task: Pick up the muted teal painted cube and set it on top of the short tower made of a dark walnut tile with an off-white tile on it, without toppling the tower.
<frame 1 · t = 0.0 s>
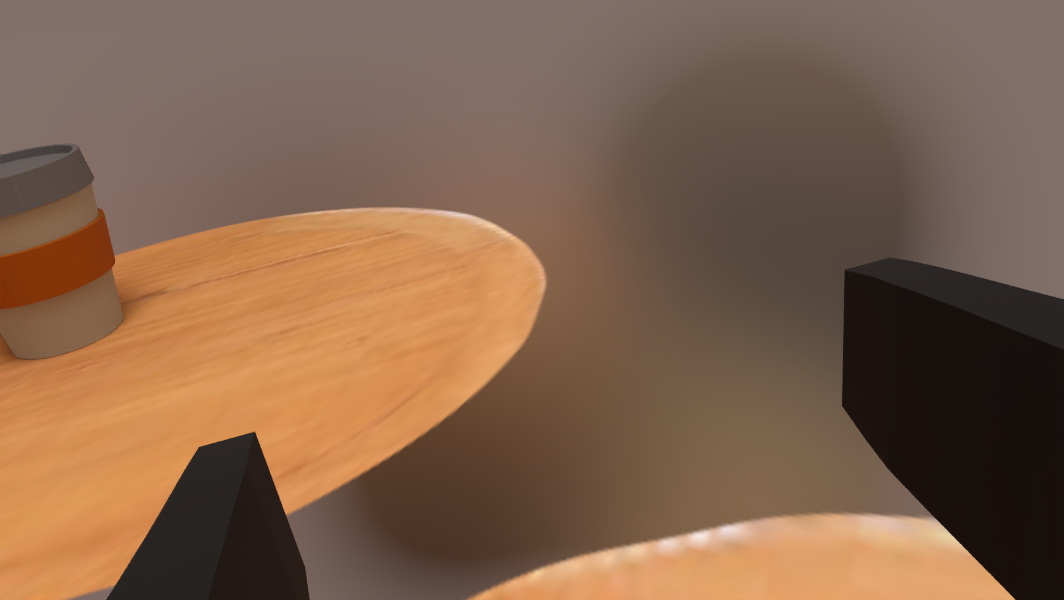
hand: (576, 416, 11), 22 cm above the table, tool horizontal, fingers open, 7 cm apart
reusable coffee cup: (70, 336, 78), on the table
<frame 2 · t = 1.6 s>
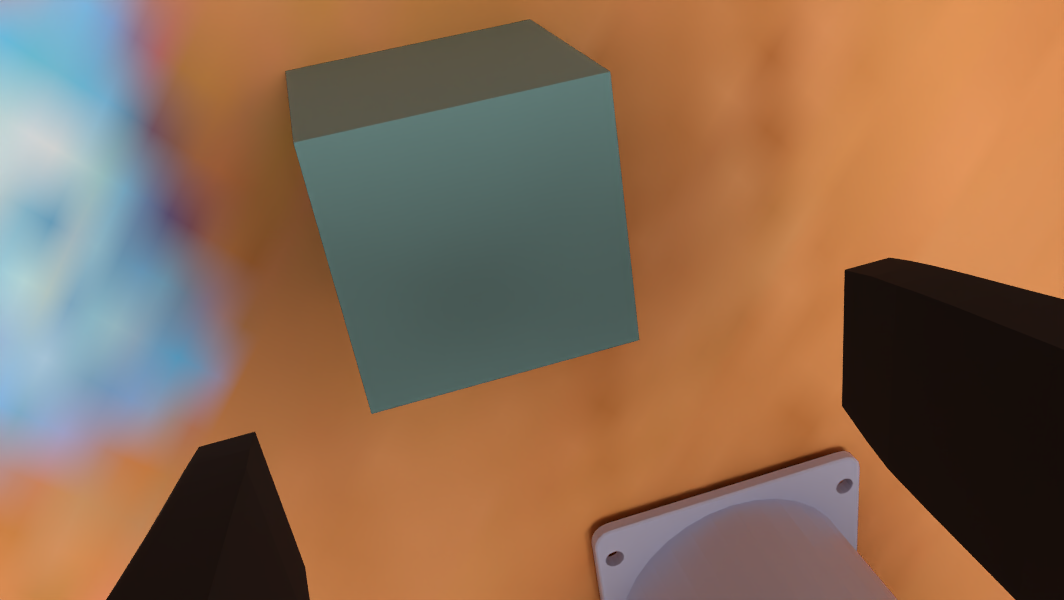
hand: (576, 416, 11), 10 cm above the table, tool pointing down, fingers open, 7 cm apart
cube: (434, 161, 19), on the table
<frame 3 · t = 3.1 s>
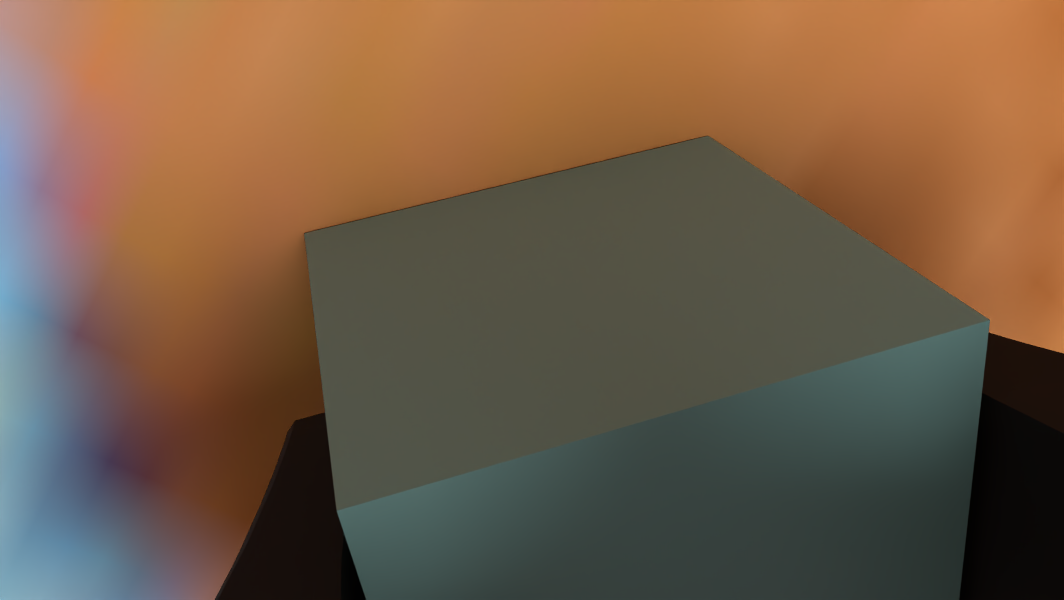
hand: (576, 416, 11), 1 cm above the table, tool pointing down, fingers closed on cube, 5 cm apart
cube: (543, 358, 12), on the table, touching gripper
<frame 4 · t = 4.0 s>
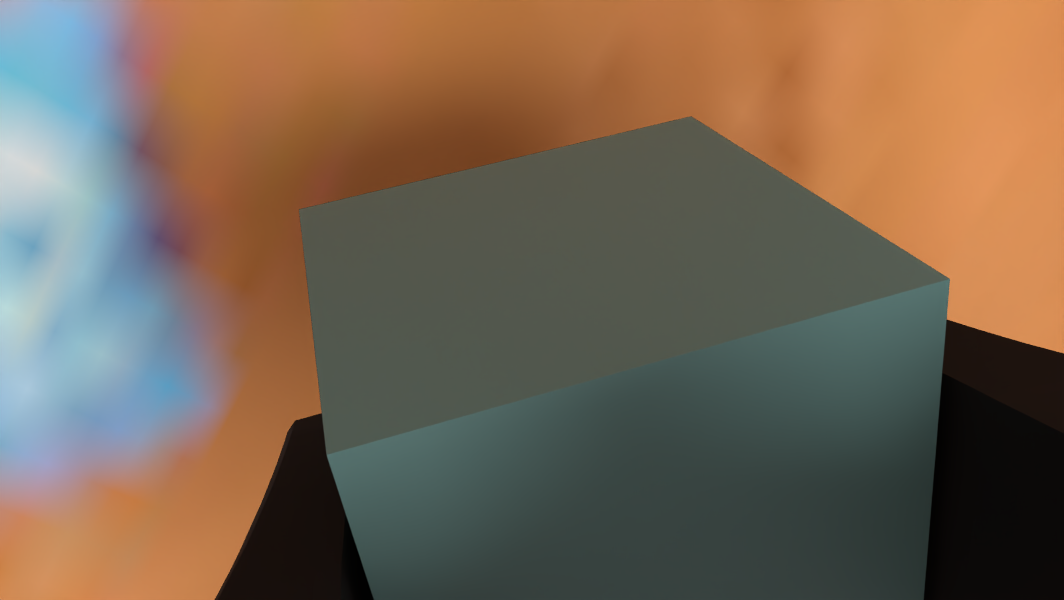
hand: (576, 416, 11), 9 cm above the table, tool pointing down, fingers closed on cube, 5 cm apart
cube: (532, 334, 12), point 7 cm above the table, touching gripper
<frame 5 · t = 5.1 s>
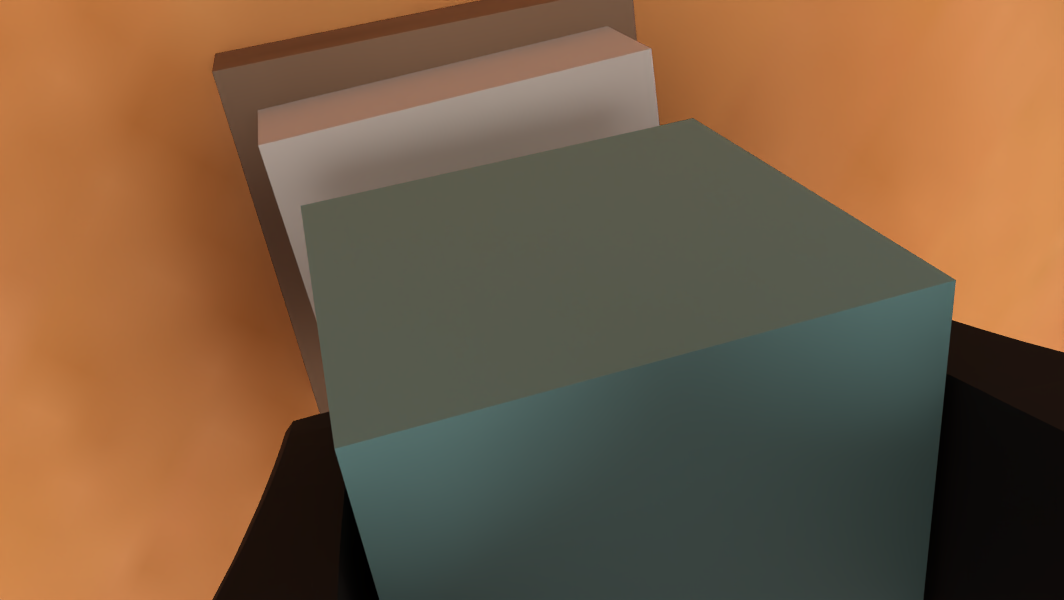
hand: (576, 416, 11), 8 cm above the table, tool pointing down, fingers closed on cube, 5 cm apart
top tile: (473, 229, 17), point 1 cm above the table, touching bottom tile
bottom tile: (448, 186, 18), on the table, touching top tile
cube: (531, 334, 12), point 6 cm above the table, touching gripper
when the fingers open (7 cm above the table, at t = 6.2 s): cube drops 1 cm, point 3 cm above the table.
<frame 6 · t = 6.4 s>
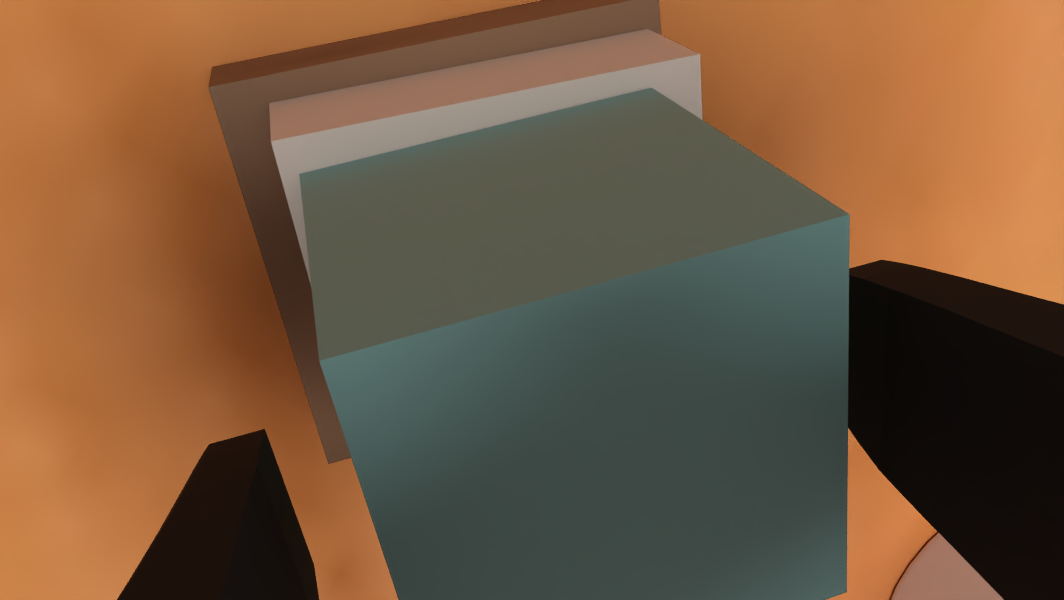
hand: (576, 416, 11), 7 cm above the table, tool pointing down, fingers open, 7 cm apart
top tile: (494, 240, 15), point 1 cm above the table
bottom tile: (458, 205, 17), on the table
pill bottle: (998, 581, 26), on the table
cube: (512, 288, 14), point 3 cm above the table
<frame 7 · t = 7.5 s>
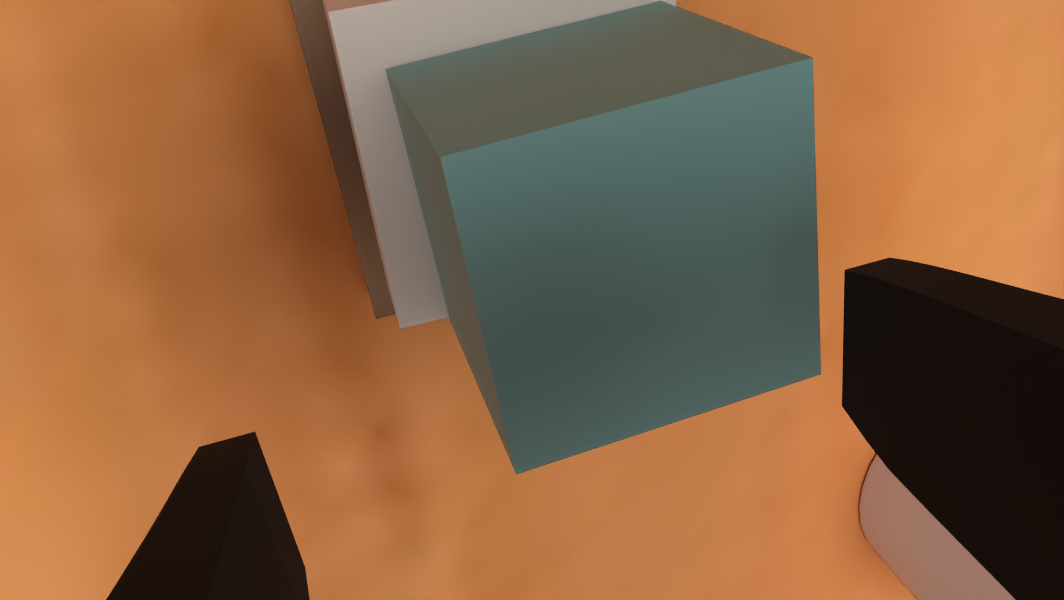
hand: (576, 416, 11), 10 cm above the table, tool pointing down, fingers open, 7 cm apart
top tile: (504, 121, 18), point 1 cm above the table, touching bottom tile
bottom tile: (484, 102, 20), on the table, touching top tile
pill bottle: (962, 467, 29), on the table
cube: (550, 168, 17), point 3 cm above the table
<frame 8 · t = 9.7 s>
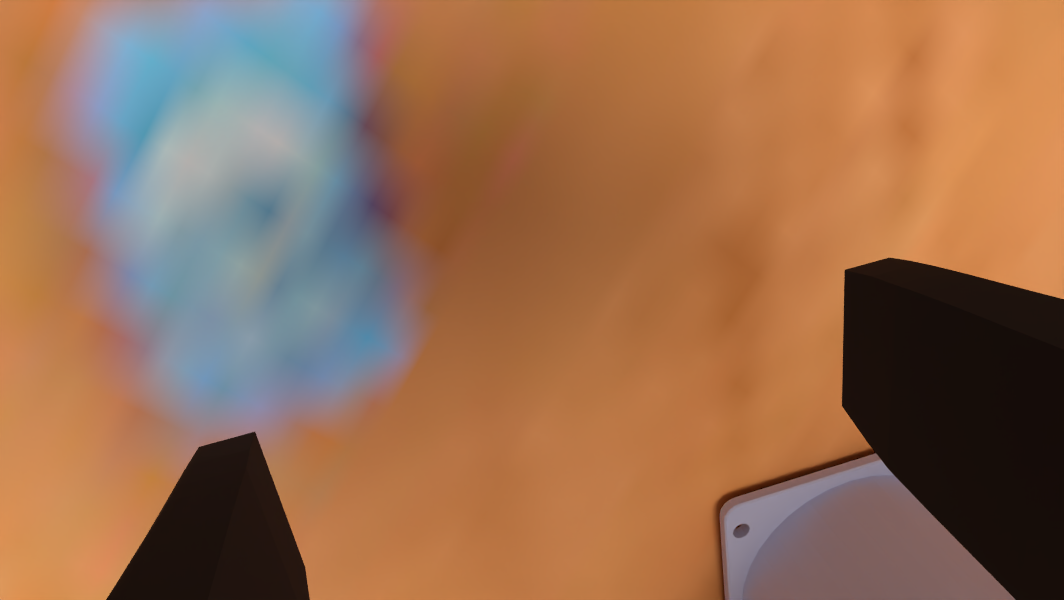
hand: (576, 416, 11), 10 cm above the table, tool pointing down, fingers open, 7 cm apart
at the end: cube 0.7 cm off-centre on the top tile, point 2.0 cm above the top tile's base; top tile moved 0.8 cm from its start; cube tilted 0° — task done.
